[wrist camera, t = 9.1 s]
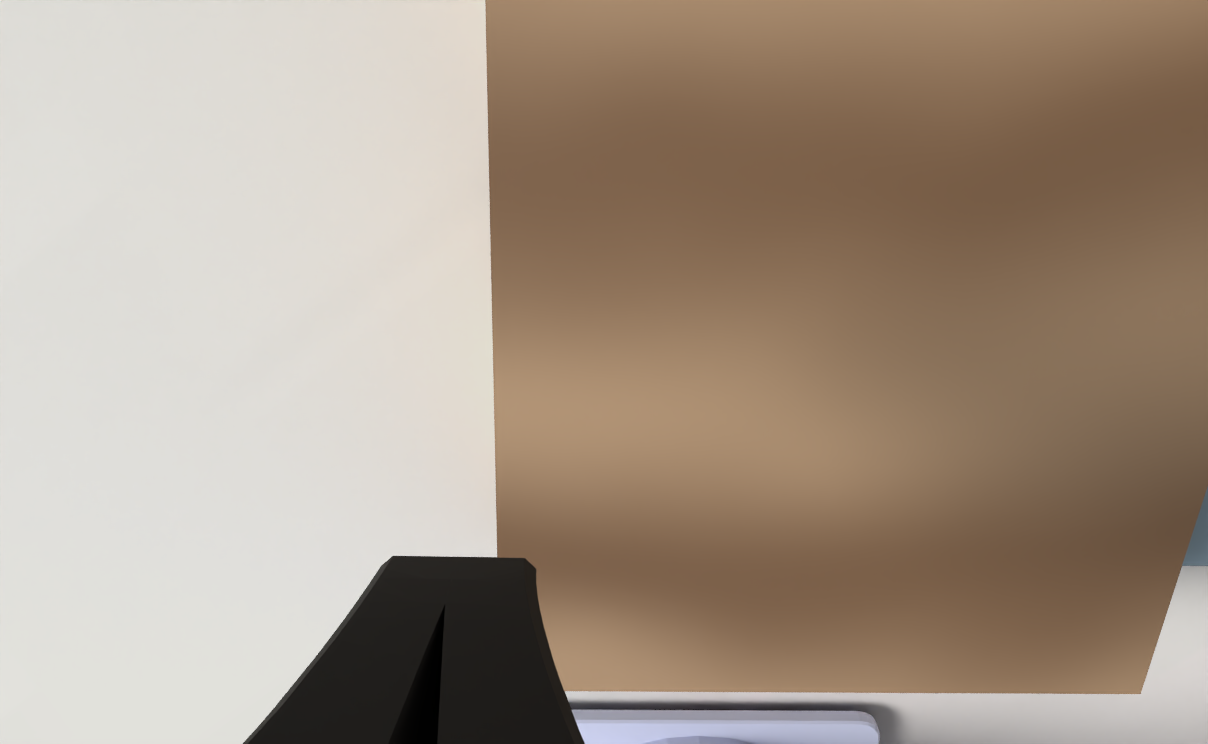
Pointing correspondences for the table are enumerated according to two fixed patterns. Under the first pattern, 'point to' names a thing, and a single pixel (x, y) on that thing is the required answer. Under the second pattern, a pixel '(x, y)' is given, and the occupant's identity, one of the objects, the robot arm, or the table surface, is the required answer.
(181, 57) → the table surface
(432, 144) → the table surface
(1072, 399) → the brown wooden block
